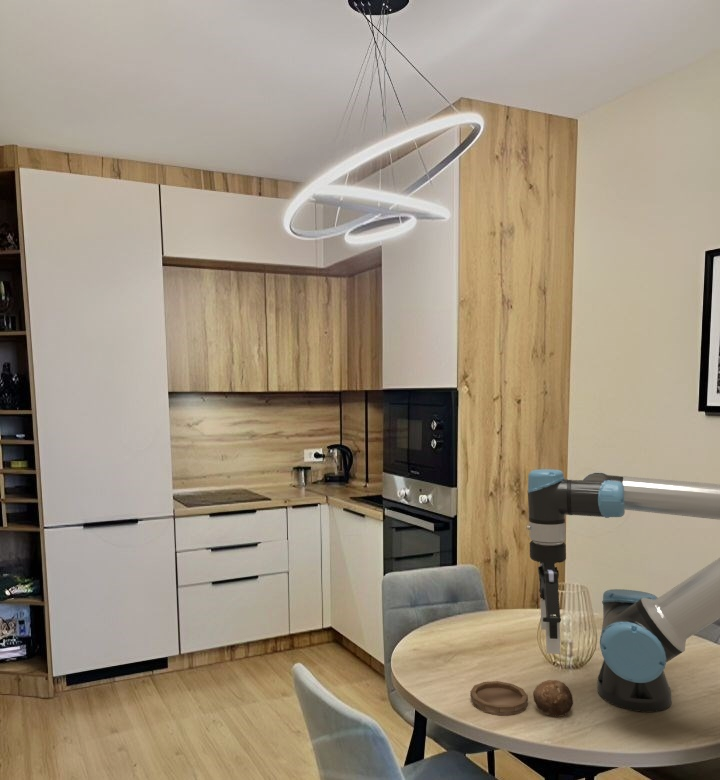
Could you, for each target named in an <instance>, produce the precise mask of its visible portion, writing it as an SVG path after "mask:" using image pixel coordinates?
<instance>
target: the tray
mask: <svg viewBox="0 0 720 780" xmlns="http://www.w3.org/2000/svg"><path fill="white" fill-rule="evenodd" d="M469 694H470V698H471V699H470V700H471V704H472V705H473V706H474V707H475V708H476V709H478V710H479V711H481V712H483V713H485V714H486V713H487V714H490V715H492V716H493V715H494V716H501V717H502V716H504V717H505V716H507V717H508V716H515V715H518V714H521V713H522V712H523V713H524V711H526V709H527V707H528V701H529V697H528V694H527V693H526V691H525V690H524V688H522V687H520V686H517V685H516V684H513V683H510V682H505V681H498V680H495V681H494V680H493V681H492V680H491V681H483V682H480V683H477V684H475V685H473V687H472V688H471V690H470V693H469Z"/></svg>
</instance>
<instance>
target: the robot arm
mask: <svg viewBox="0 0 720 780" xmlns="http://www.w3.org/2000/svg"><path fill="white" fill-rule="evenodd" d="M527 477H528V478H527V479H528V481H527V483H528V484H527V503H528V505H527V507H528V508H527V509H528V521H529V522H528V524H529V525H526V530H527V531H529V539H530V540H531V541H530V542H529V557H530V559H531V560H532V561H534V562H537V563H539V566H538V567H537V571H538V579H539V591H538V592H539V593H540V594H539V597H540V599H539V601H540V602H539V603H540V604H539V605H540V627H541V628H540V629H541V630H545V644H546V645H545V646H546V649H545V650H546V654H552V655H561V654H562V653H561V652H562V651H561V650H562V649H561V625H560V623H561V621H562V618H561V611H560V609H561V607H560V598H559V597H560V596H559V595H560V594H559V587H560V586H559V578H560V577H559V576H560V573H559V570H558V567H557V566H556V565H555V564H557V563H559V564H560V563H564V562H565V561H566V560H567V546H566V545H567V544H566V543H565V541H567V540H566V539H567V535H566V520H565V519H566V518H565V516H583V517H584V516H585V517H597V518H599V517H600V518H606V519H609V518H622V517H623V516H624V515H625V511H635V512H644V513H653V514H654V513H655V514H662V515H673V516H682V517H683V516H684V517H692V518H700V519H701V518H702V519H707V520H708V519H709V520H719V521H720V483H708V482H697V481H695V482H694V481H685V480H673V479H662V478H649V477H638V476H637V477H636V476H623V475H622V476H619V475H611V474H610V475H609V474H606V473H603V472H593V473H590V474H588V475H586V476H585V477H584V478H583V479H567V478H565V476H564V472H563V471H562V470H560V469H551V468H550V469H549V468H547V469H546V468H545V469H544V468H543V469H533V470H531V471H530V472H529V473H528V476H527ZM601 604H602V606H603V607H602V609H603V611H602V612H603V618H602V620H603V621H602V625H601V631H600V633H601V634H600V637H599V647H600V652H601V655H602V658H603V661H602V665H601V667H600V670H599V673H598V677H597V684H596V685H597V687H596V688H597V692H598V696H600V697H601V698H602V699H603V700H605V701H606V702H607V703H609V704H612V705H613V706H616V707H619V708H622V709H625V710H629V711H635V712H643V713H645V712H646V713H647V712H649V713H653V712H660V711H664V710H666V709H668V708H669V707H670V706H672V691H671V687H670V686H669V685H670V684H669V683H668V680H667V679H668V678H667V676H666V674H665V671H664V670H665V669H666V665H667V662H668V663H669V661H672V660H673V659H674V658H675V657H677V656H679V655H680V654H682V653H684V652H685V651H686V642H687V639H689V638H691V637H692V636H693V635H696V634H697V633H699V632H701V631H702V630H703V629H705V628H706V627H708V626H710V625H711V624H713V623H715V622H717V621H718V620H720V557H718V558H717V559H715V560H714V561H712V562H711V563H709V564H707V565H706V566H704V567H703V568H702V569H700V570H698V571H697V572H695V573H694V574H693V575H691V576H690V577H688V578H686V579H685V580H683V581H681V582H680V583H679V584H677V585H675V586H674V587H673V588H671V589H670V590H668V591H666V592H665V593H663V594H662V595H661V596H659V597H657V596H656V595H655V594H653V593H650V592H646V591H641V590H635V589H624V588H623V589H617V588H615V589H607V590H605V591H604V592H603V595H602V601H601Z"/></svg>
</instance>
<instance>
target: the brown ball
mask: <svg viewBox="0 0 720 780" xmlns="http://www.w3.org/2000/svg"><path fill="white" fill-rule="evenodd" d="M532 696H533V701H534V704H535V705H536V707H537V709H539V710H540V711H541V713H543V714H545V715H547V716H550V717H563V716H566V715H567V714H568V713H570V711H572V707H573V705H574V700H573V699H574V698H573V694H572V692H571V690H570V688H569V687H568V685H566V684H565V683H564V682H562V681H560V680H557V679H548V680H545V681H542V682H540V683H539V684H538V685H536V686H535V688H534V691H533V695H532Z"/></svg>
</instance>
